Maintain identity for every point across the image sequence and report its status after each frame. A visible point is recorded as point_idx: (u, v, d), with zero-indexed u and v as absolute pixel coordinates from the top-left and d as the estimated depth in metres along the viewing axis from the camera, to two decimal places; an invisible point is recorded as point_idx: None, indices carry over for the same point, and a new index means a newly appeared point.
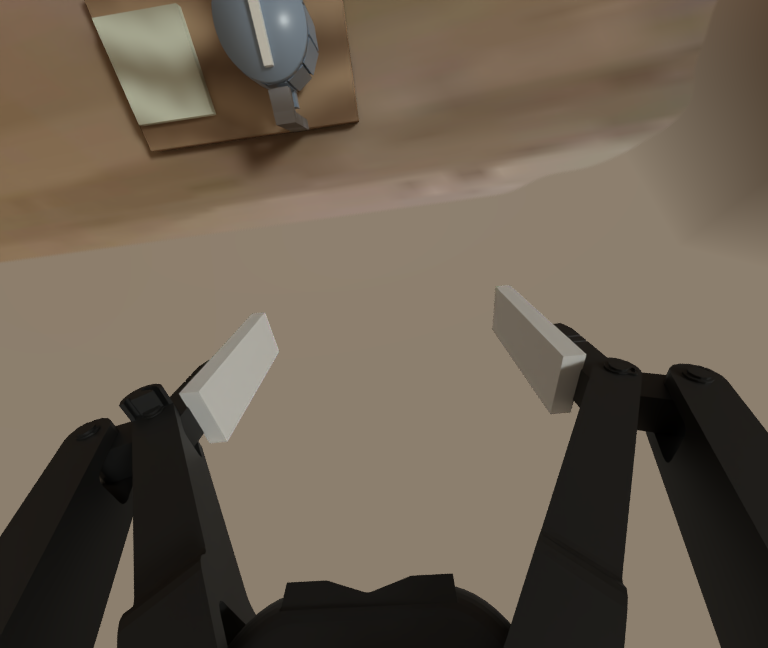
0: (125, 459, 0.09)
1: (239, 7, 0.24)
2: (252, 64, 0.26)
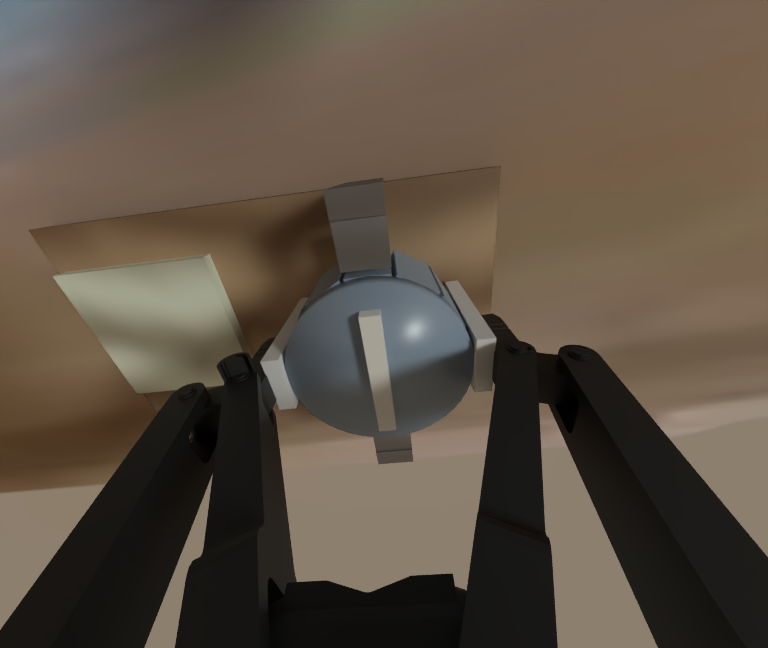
0: (218, 418, 0.11)
1: (342, 356, 0.12)
2: (354, 420, 0.13)
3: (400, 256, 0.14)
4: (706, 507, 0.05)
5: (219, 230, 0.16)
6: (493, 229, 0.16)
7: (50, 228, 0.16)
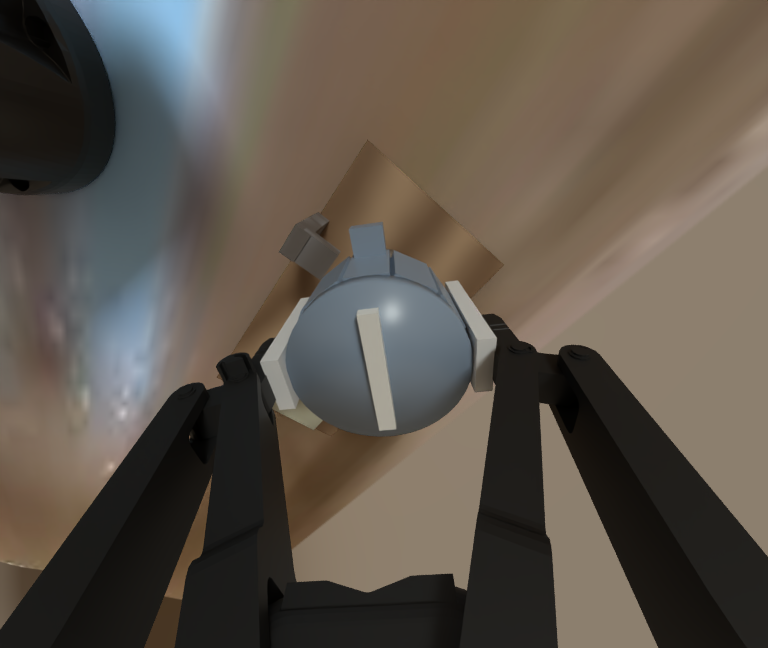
0: (218, 418, 0.11)
1: (342, 354, 0.12)
2: (354, 419, 0.13)
3: (400, 257, 0.14)
4: (707, 507, 0.05)
5: (276, 311, 0.25)
6: (400, 173, 0.20)
7: None
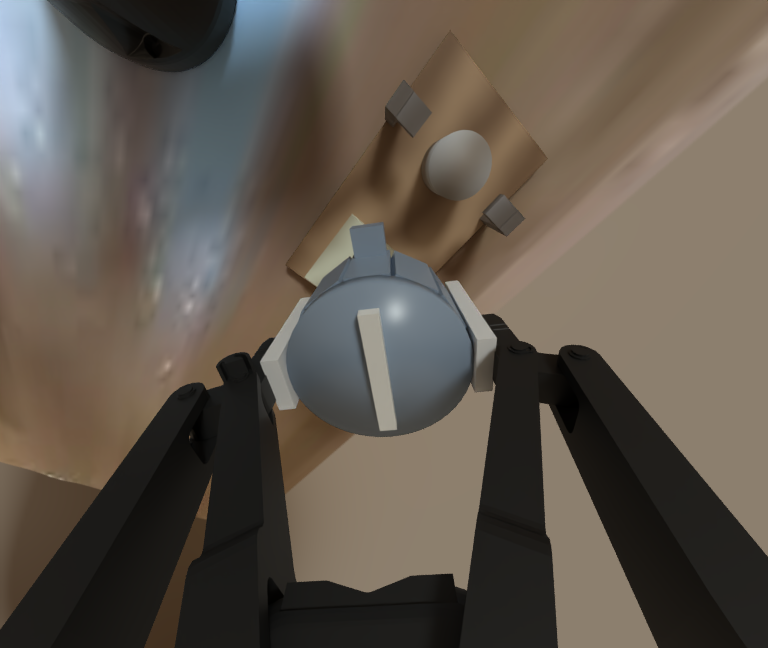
0: (218, 418, 0.11)
1: (342, 354, 0.12)
2: (355, 419, 0.13)
3: (400, 257, 0.14)
4: (707, 507, 0.05)
5: (349, 197, 0.29)
6: (473, 64, 0.24)
7: (291, 256, 0.32)
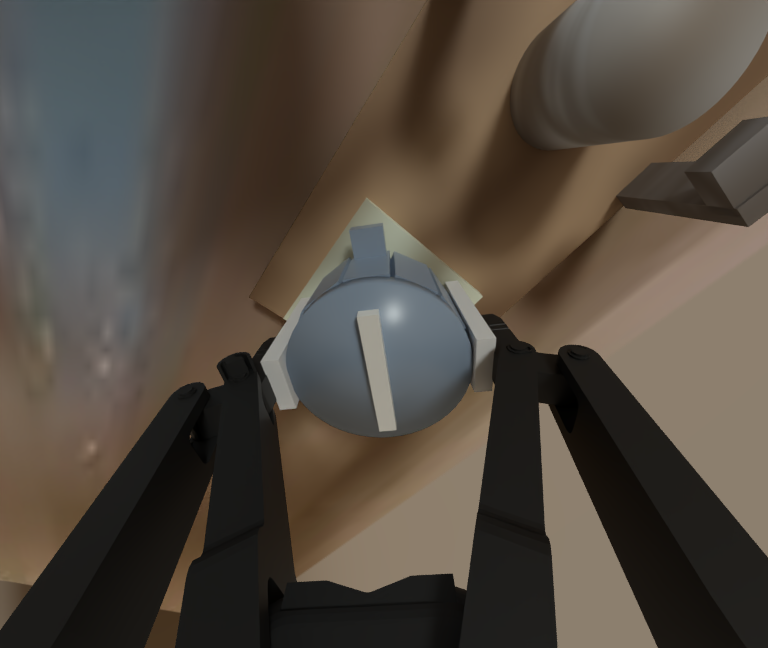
0: (218, 418, 0.11)
1: (342, 355, 0.12)
2: (354, 420, 0.13)
3: (400, 258, 0.14)
4: (706, 507, 0.05)
5: (360, 163, 0.15)
6: None
7: (258, 283, 0.18)
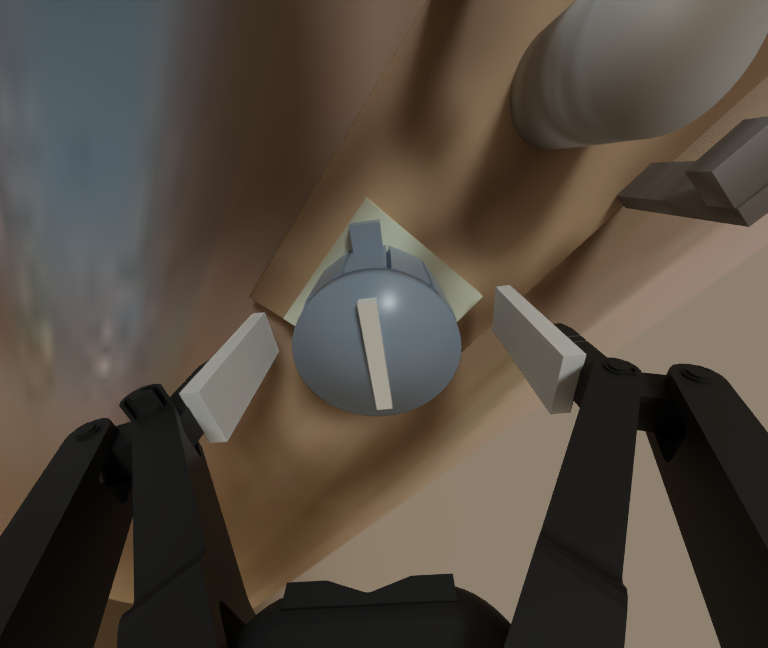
0: (125, 459, 0.09)
1: (343, 340, 0.13)
2: (354, 400, 0.15)
3: (395, 251, 0.15)
4: None
5: (360, 163, 0.15)
6: None
7: (258, 282, 0.18)
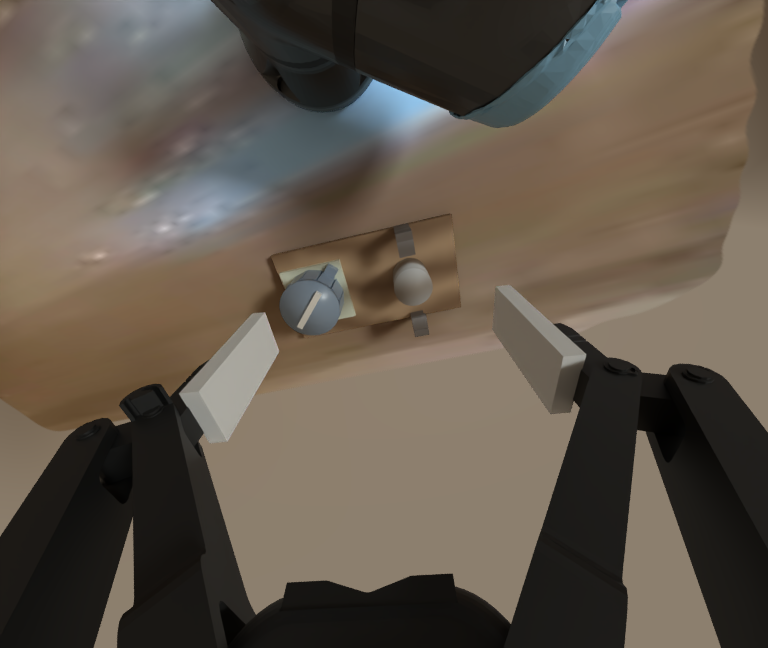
0: (125, 459, 0.09)
1: (303, 298, 0.37)
2: (291, 319, 0.38)
3: (336, 282, 0.40)
4: None
5: (344, 249, 0.40)
6: (452, 237, 0.39)
7: (279, 254, 0.40)
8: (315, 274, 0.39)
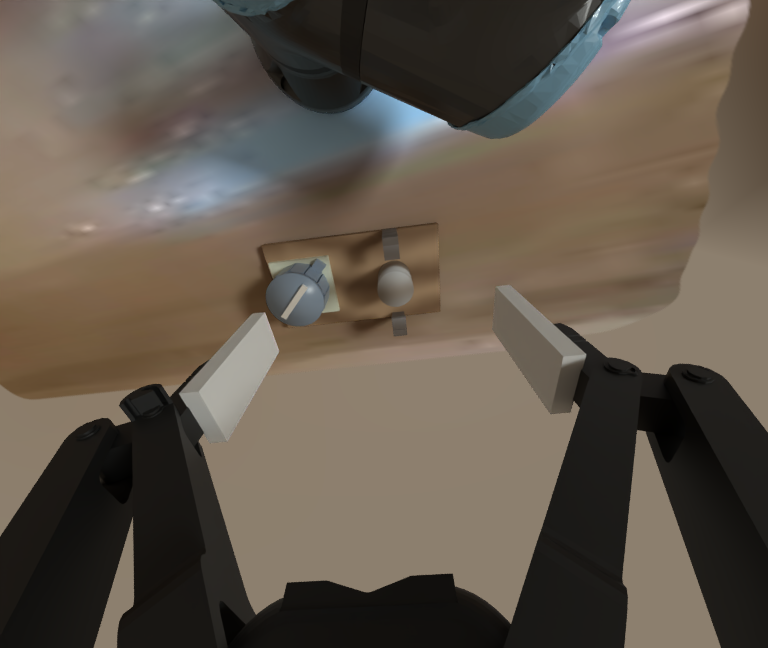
0: (125, 459, 0.09)
1: (289, 290, 0.38)
2: (275, 308, 0.40)
3: (323, 277, 0.42)
4: None
5: (333, 246, 0.41)
6: (437, 245, 0.41)
7: (269, 245, 0.41)
8: (303, 268, 0.40)
